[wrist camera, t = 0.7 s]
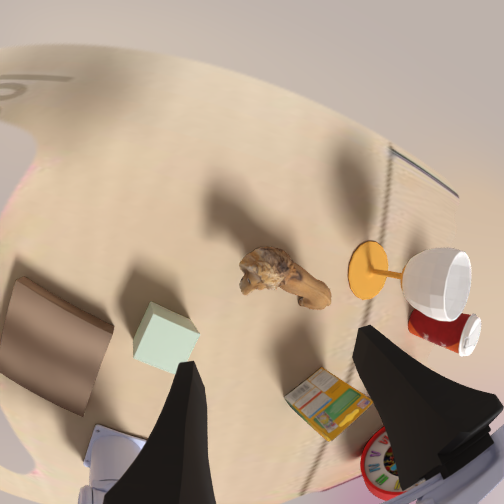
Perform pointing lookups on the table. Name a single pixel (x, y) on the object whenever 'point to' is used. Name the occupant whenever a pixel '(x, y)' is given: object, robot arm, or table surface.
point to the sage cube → (164, 338)
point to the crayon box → (327, 403)
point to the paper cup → (447, 331)
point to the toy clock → (381, 468)
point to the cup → (416, 278)
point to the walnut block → (52, 346)
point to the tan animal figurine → (282, 277)
